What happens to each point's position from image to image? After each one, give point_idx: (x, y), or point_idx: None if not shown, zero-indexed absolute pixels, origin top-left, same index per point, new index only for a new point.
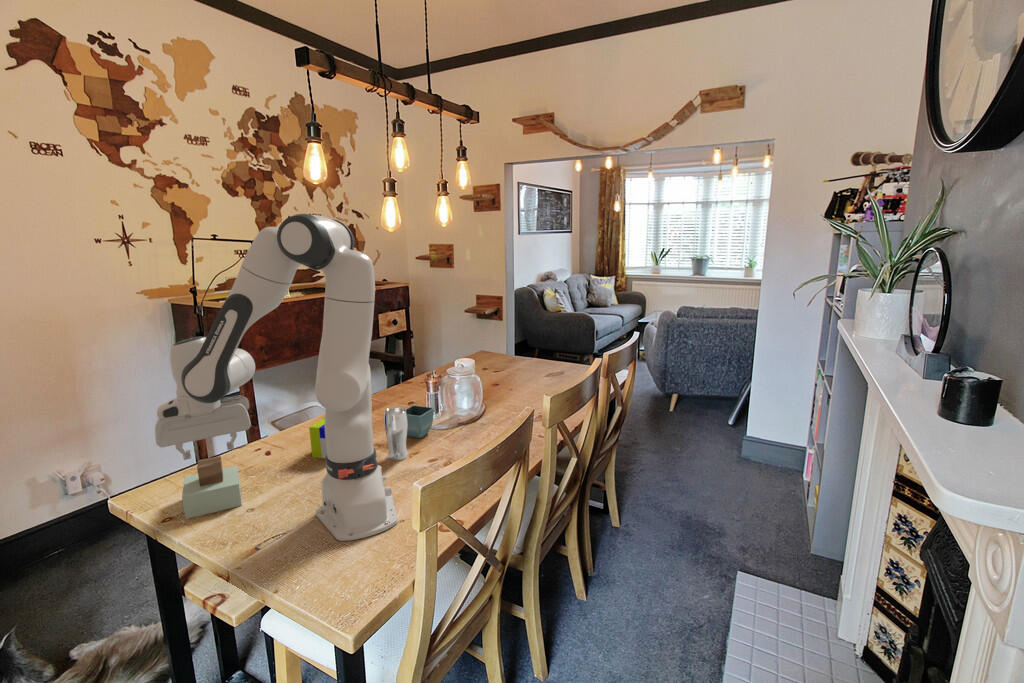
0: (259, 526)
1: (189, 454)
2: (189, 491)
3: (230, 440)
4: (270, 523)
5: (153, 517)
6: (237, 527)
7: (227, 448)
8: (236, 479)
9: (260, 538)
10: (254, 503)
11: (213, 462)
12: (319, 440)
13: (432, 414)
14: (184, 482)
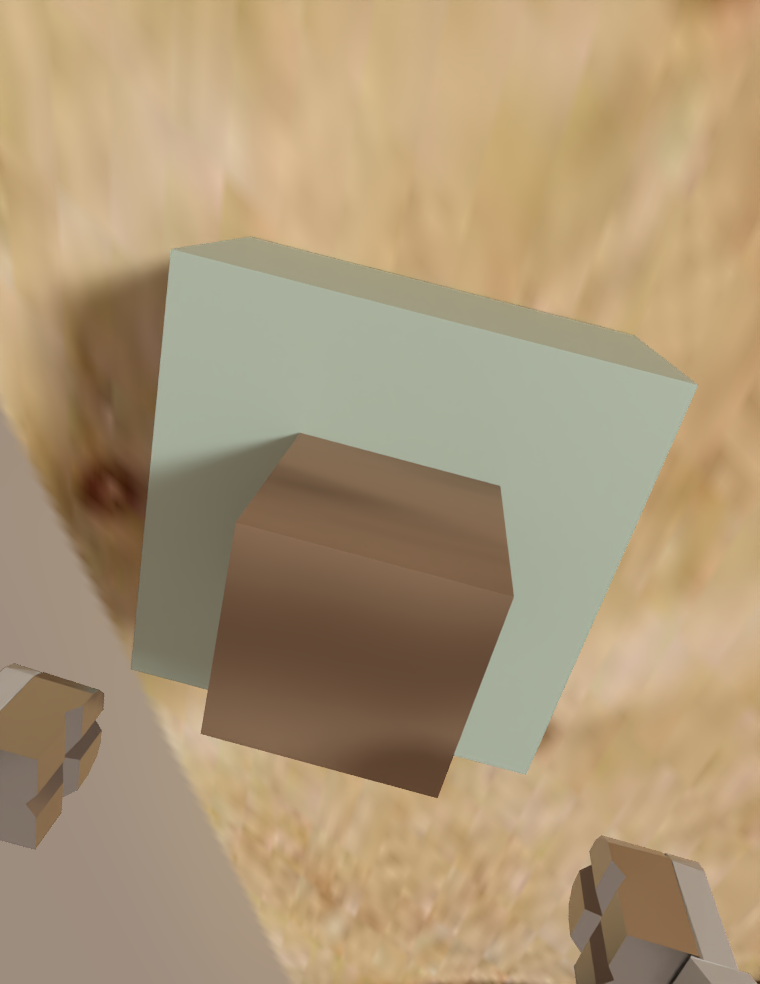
0: (497, 890)
1: (49, 816)
2: (185, 625)
3: (700, 982)
4: (547, 903)
5: (29, 393)
6: (412, 830)
7: (572, 933)
8: (543, 694)
9: (461, 961)
10: (581, 680)
11: (381, 725)
12: None
13: None
14: (157, 415)
